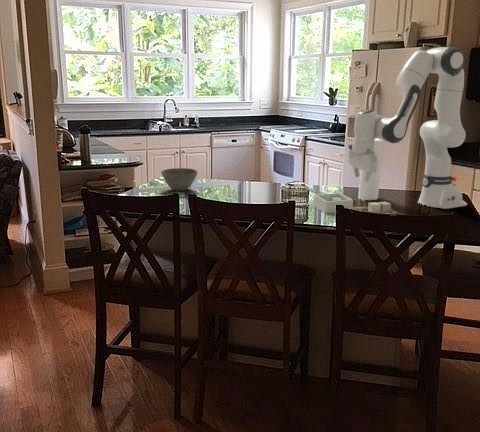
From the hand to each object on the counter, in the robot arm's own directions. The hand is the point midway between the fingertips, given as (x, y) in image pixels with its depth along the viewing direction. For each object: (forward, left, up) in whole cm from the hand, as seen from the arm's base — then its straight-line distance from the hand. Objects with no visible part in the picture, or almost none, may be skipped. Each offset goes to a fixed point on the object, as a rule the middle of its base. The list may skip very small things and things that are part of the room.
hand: (361, 178), depth 229 cm
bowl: (+72, -60, -15) cm, 95 cm away
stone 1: (+8, -8, -15) cm, 18 cm away
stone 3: (-9, +5, -14) cm, 18 cm away
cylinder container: (-15, -20, -15) cm, 29 cm away
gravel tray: (-4, +5, -15) cm, 16 cm away
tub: (+11, -5, -15) cm, 19 cm away
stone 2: (-4, +5, -14) cm, 16 cm away
